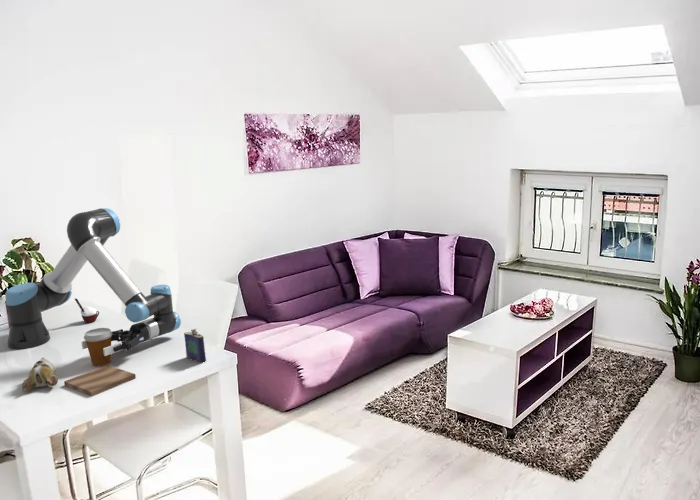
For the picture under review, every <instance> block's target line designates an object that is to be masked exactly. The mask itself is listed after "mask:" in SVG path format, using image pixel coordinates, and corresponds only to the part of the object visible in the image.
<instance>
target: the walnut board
mask: <svg viewBox="0 0 700 500" xmlns="http://www.w3.org/2000/svg"><path fill="white" fill-rule="evenodd" d="M136 376H137V375H136V373H133V372H130V371H128V370H124V369H121V368H118V367H115V366H111V365H109V364H108V365H105V366H100V367H98V368H96V369H93V370H91V371H88V372H86V373H82V374H80V375H78V376H75V377H72V378H70V379H66V380H64V381H63V383H64V386H65V387H67V388H70V389H72V390H76V391H78V392H80V393H82V394H85V395H87V396H90V397H94V396H95V395H99V394H101V393H103V392H106V391H109V390H110V389H114V388H115V387H119V386H120V385H122V384H125V383H127V382H128V383H129V382H130V381H133V380H135V379H136V378H137V377H136Z"/></svg>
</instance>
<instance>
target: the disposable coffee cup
mask: <svg viewBox="0 0 700 500" xmlns="http://www.w3.org/2000/svg"><path fill="white" fill-rule="evenodd" d="M111 336H112V330H111V328H109V327H99V328H93V329H89V330H87V331H85V333H84V336H83V339H84V341H86V343H87V347H88V348H87V349H88V353H89V357H90V360H91V363H92V366H93V367H98V368H100V367H104V366H106V365H109V364H110V365H111V363H112V354H110V355H107V356H104V352H103V348H106V347H109V346H112V341H111Z"/></svg>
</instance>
